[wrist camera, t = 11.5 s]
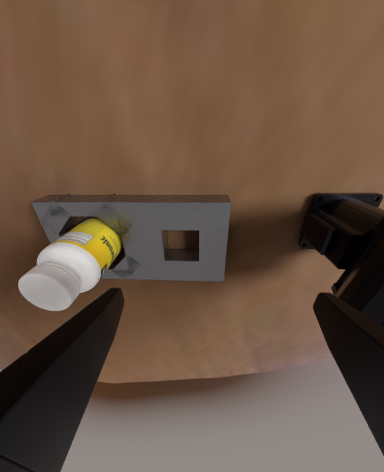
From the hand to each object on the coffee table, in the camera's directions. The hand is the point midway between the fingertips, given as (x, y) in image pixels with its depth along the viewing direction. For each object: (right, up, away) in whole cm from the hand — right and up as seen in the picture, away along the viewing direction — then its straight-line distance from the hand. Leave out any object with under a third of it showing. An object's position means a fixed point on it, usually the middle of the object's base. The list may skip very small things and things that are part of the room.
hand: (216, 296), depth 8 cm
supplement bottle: (-12, +3, +14) cm, 19 cm away
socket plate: (-7, +3, +14) cm, 16 cm away
